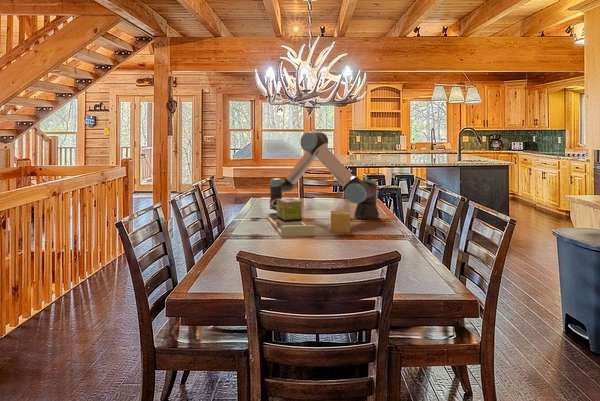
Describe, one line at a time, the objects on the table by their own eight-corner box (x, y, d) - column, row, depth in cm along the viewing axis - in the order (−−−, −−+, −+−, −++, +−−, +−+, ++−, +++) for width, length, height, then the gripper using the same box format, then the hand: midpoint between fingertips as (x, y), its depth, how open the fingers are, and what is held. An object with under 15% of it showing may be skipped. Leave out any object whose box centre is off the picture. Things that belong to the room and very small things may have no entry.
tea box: (275, 224, 289) (275, 198, 287) (292, 223, 292) (292, 197, 290) (284, 229, 275) (284, 201, 273) (302, 228, 278) (302, 200, 277)
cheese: (350, 229, 274) (350, 211, 273) (350, 233, 264) (350, 213, 262) (330, 229, 275) (330, 210, 274) (329, 232, 265) (330, 213, 263)
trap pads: (293, 219, 306) (293, 219, 306) (297, 223, 294) (297, 222, 293) (271, 220, 304) (271, 219, 304) (274, 223, 291) (274, 223, 291)
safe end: (309, 230, 270) (309, 221, 270) (315, 235, 257) (315, 225, 257) (277, 231, 267) (277, 222, 267) (281, 236, 254) (281, 226, 254)
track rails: (296, 219, 308) (296, 216, 307) (309, 230, 270) (309, 227, 270) (268, 220, 304) (268, 217, 304) (277, 231, 267) (277, 228, 267)
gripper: (288, 210, 322) (295, 216, 299) (268, 211, 320) (273, 217, 297) (288, 198, 321) (295, 203, 298) (268, 199, 319) (273, 204, 296)
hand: (284, 210), depth 298 cm, fingers closed
